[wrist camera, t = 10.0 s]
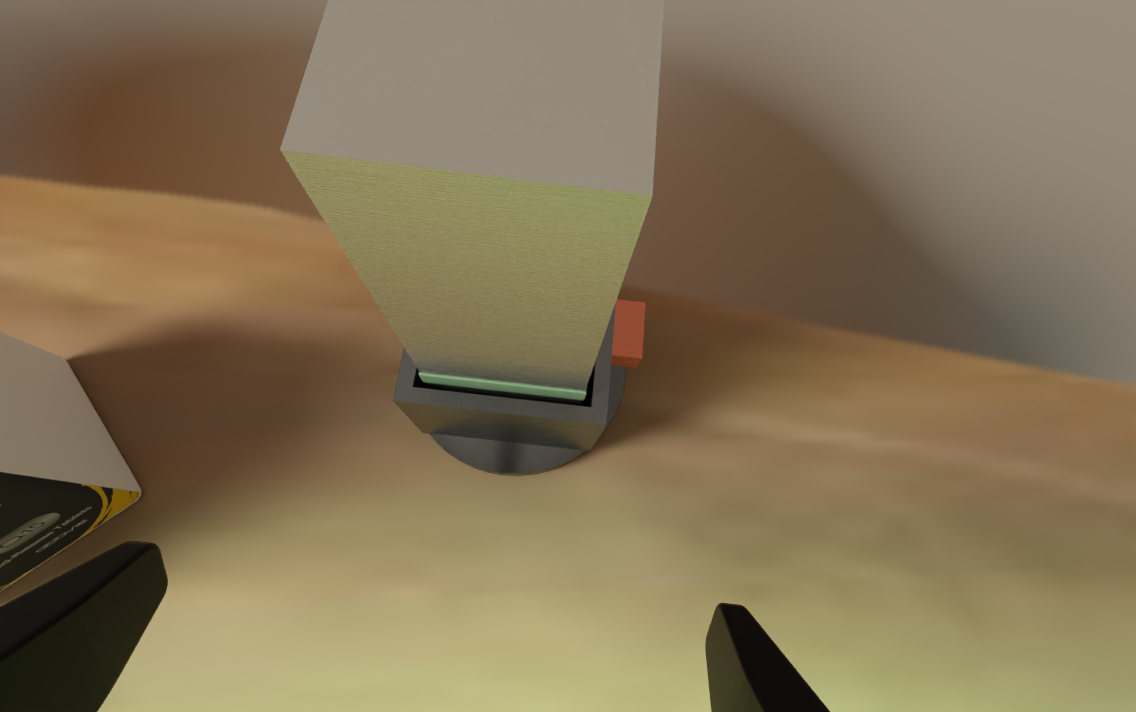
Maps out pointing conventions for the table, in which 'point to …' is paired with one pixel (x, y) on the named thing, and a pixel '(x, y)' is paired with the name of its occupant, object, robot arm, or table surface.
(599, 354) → the base
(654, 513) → the table surface
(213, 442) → the table surface
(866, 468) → the table surface
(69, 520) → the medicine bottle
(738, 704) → the robot arm
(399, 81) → the column
